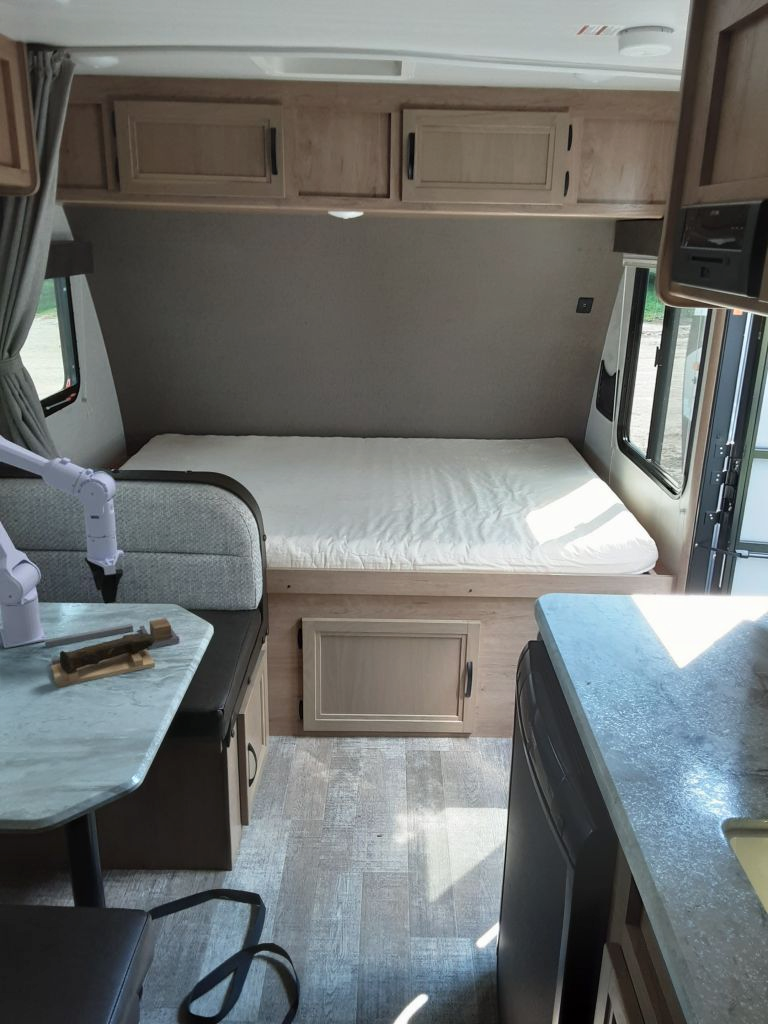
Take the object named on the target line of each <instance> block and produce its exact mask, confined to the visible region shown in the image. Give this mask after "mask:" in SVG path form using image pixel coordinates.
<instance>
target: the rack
mask: <svg viewBox="0 0 768 1024" xmlns="http://www.w3.org/2000/svg"><path fill="white" fill-rule="evenodd" d="M155 667H156V664H155V661H154V660H153V658H152V656H151V654H150V653H149V651H148V650H147V649H144V650H142V651H138V652H135V653H131V652H129V653H125V654H122V655H119V656H116V657H113V658H109V659H106V660H103V661H100V662H99V663H98V664H91V665H86V666H84V667H80V668H77V669H75V670H74V671H73V672H71V673H69V674H67V673H66V672H65V671H64V670H63V669H62V667H61V664H55V665H52V664H51V665H50V670H51V673H52V675H53V679H54V681H55V685H56V687H57V688H62V687H66V686H71V685H75V684H79V683H85V682H89V681H93V680H98V679H99V680H100V679H103V678H104V679H105V678H108V677H111V676H112V677H113V676H117V675H122V674H127V673H130V672H136V671H140V670H145V669H148V668H149V669H150V668H155Z"/></svg>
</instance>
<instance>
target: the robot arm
mask: <svg viewBox="0 0 768 1024" xmlns="http://www.w3.org/2000/svg"><path fill="white" fill-rule="evenodd" d="M0 462H1V463H2V462H3V463H4V464H8V465H11V466H13V467H16V468H18V469H22V470H24V471H27V472H30V473H33V474H36V475H37V476H38V475H39V476H41V477H42V479H43V481H44V483H45V485H48V486H49V487H52V488H54V489H57V490H60V491H62V492H64V493H66V494H69V495H71V496H74V497H76V498H78V501H80V503H81V504H82V505H83V510H84V511H83V514H84V515H83V516H84V525H85V528H84V529H85V538H86V539H85V541H86V551H87V553H86V556H85V557H84V560H85V562H86V563H87V565H88V566H89V570H90V571H91V574H92V578H93V581H94V585H95V587H96V590H97V591H100V595H101V598H102V601H103V602H104V604H105V605H106V604H113V603H115V602H116V600H117V596H118V595H117V594H118V588H119V584H120V580H121V579H122V577H123V576H124V575H123V574H124V570H123V569H122V568H117V569H116V563H117V561H118V558H119V557H122V556H124V550H122V549H118V544H117V529H116V516H115V507H114V498H113V496H114V495H115V493H116V491H117V484H116V483H117V482H116V481H115V479H114V477H112V475H110V474H108V473H107V472H105V471H100V470H99V471H95V472H94V470H93V469H91V468H87V469H86V468H84V467H81V466H79V465H77V464H74V463H72V462H71V459H70V458H67V457H63V458H60V457H56V458H53V459H47V458H45V457H43V456H41V455H39V454H36V452H35V453H34V452H33V451H31V450H28V449H26V448H24V447H22V446H20V445H18V444H17V443H14V442H12V441H9V440H8V439H6V438H5V437H3V436H2V435H0ZM4 527H5V526H3V523H2V522H1V521H0V616H1V622H2V623H1V625H2V627H1V628H0V636H1V637H0V638H1V641H2V644H3V647H4V649H8V648H13V647H17V646H18V647H19V646H24V645H28V644H29V645H30V644H34V643H39V642H45V640H47V637H46V634H45V632H44V629H43V626H42V624H41V614H40V605H39V597H38V591H37V585H38V584H40V582H41V578H42V574H41V571H40V568H39V567H38V566H37V565H36V564H35V563H34V562H32V561H31V560H30V559H29V558H28V556H27V554H26V553H25V552H23V551H21V550H18V549H16V547H15V545H14V544H13V542H12V539H11V537H10V536H9V535H8V533H7V531H6V529H5V528H4Z"/></svg>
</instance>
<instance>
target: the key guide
mask: <svg viewBox="0 0 768 1024" xmlns="http://www.w3.org/2000/svg"><path fill="white" fill-rule="evenodd" d="M139 631H140V632H141V633H145V634H149V632H148V630H147V629H146V628H145V626H144V625H140V626H139ZM180 643H181V642H180V637H179V635H177V634H176V632H175V631H174V630H173V628H172V627H171V637H169V638H164V639H159V640H155V642H154V644H153V645H152V646H151V647H150V648H151V649H156V648H161V647H166V646H171V645H176V644H180Z"/></svg>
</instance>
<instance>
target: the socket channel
mask: <svg viewBox="0 0 768 1024" xmlns="http://www.w3.org/2000/svg"><path fill="white" fill-rule="evenodd" d="M130 632H131V633H132V632H134V626H133V624H132V623H129V624H124V625H119V626H113V627H108V628H102V629H97V630H92V631H86V632H80V633H76V634H71V635H66V636H65V635H64V636H60V637H59V636H58V637H53V638H48V639H46V640H45V641H44V645H45V648H46V649H47V648H51V647H57V646H64V645H68V644H73V643H78V642H83V641H88V640H89V641H90V640H93V638H94V639H98V638H99V639H100V638H104V637H108V636H109V637H110V636H114V635H120V634H126V633H130ZM55 664H60V656H58V657H54V658H51V665H55Z"/></svg>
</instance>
